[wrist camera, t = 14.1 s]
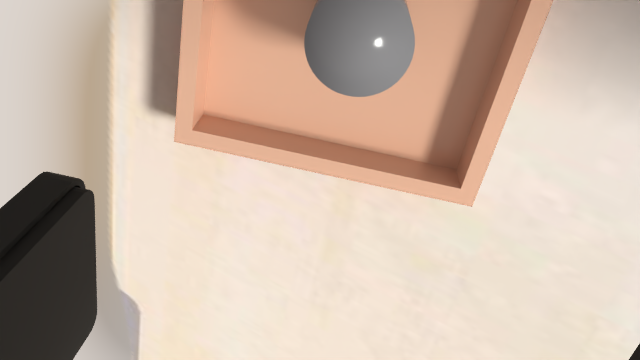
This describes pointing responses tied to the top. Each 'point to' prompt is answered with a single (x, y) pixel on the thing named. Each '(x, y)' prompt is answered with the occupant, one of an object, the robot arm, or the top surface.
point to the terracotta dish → (357, 112)
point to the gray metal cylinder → (359, 44)
